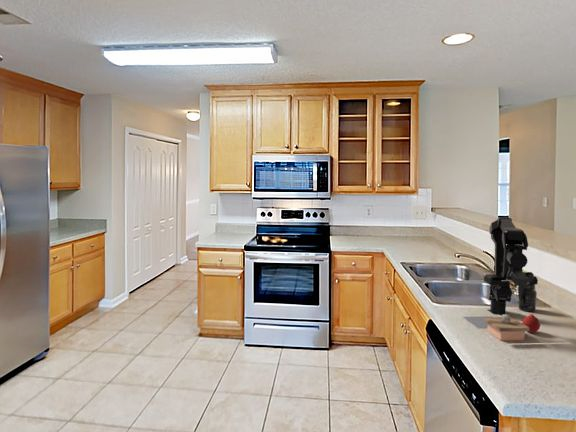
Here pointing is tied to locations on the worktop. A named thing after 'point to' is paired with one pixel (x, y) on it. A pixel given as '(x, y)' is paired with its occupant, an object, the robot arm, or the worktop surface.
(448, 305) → the worktop surface
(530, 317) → the onion
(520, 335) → the terracotta dish
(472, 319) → the rubber mat
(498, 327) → the walnut lid
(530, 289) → the supplement bottle
